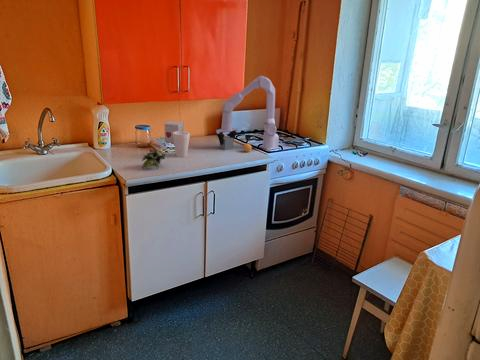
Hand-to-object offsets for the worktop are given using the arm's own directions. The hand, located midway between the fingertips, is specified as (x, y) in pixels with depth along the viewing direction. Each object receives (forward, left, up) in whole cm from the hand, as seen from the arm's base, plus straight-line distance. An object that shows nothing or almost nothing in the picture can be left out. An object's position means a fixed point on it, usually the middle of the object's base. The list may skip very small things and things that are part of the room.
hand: (226, 143), depth 233 cm
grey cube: (0, 0, -3) cm, 3 cm away
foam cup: (+31, +1, -3) cm, 32 cm away
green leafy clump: (+53, +13, -3) cm, 55 cm away
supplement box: (+26, -17, -3) cm, 32 cm away
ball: (-7, +13, 0) cm, 14 cm away
